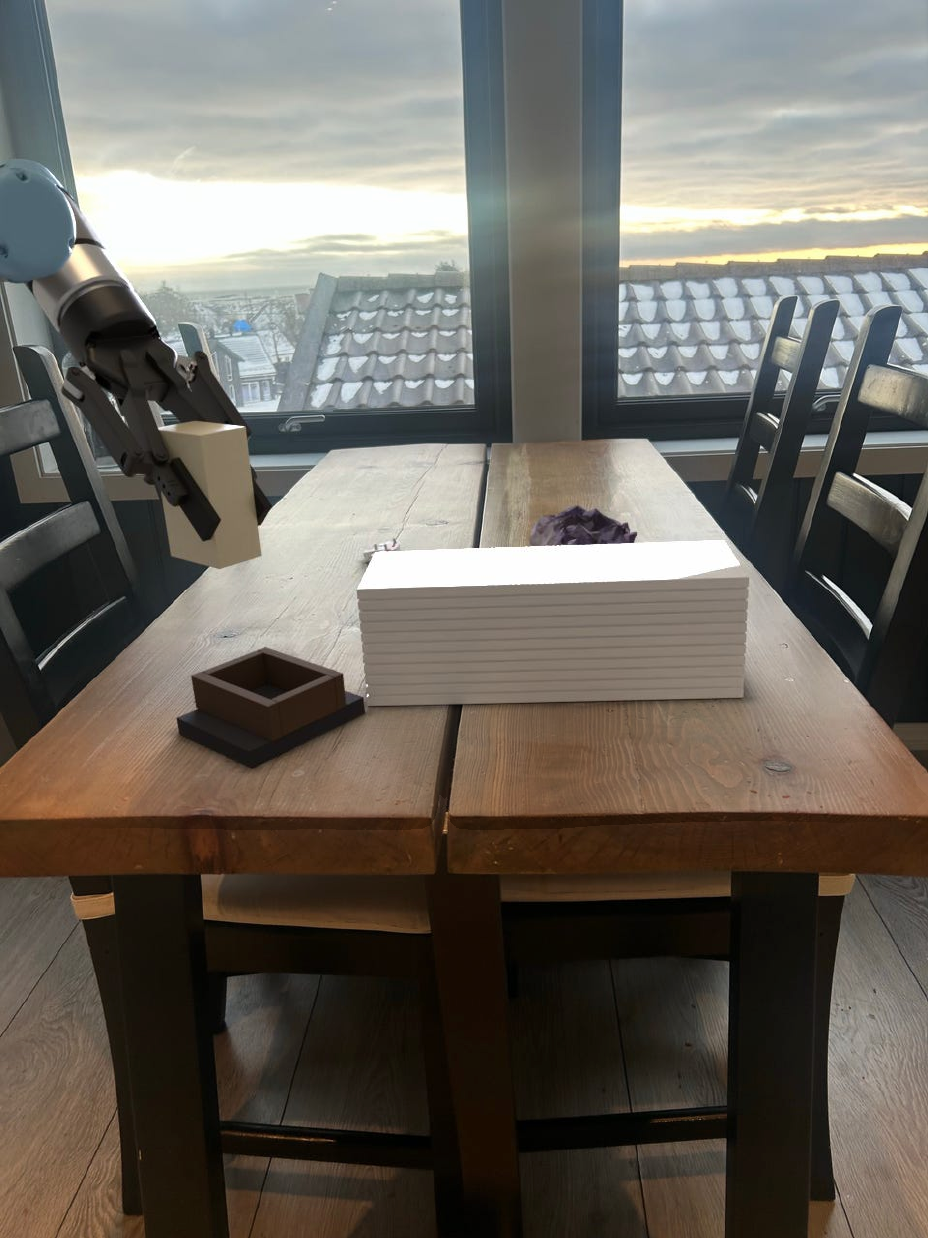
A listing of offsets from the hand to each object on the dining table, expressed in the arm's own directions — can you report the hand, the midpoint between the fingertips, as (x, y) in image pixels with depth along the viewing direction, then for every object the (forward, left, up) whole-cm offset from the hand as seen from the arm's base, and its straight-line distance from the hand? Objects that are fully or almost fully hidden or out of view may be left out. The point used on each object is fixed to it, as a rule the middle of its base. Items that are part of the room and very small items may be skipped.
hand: (237, 523), depth 82 cm
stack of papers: (+25, -5, -17) cm, 31 cm away
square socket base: (0, -4, -17) cm, 17 cm away
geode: (+38, +14, -17) cm, 44 cm away
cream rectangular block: (-2, +3, -3) cm, 5 cm away
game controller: (+23, +36, -17) cm, 46 cm away
